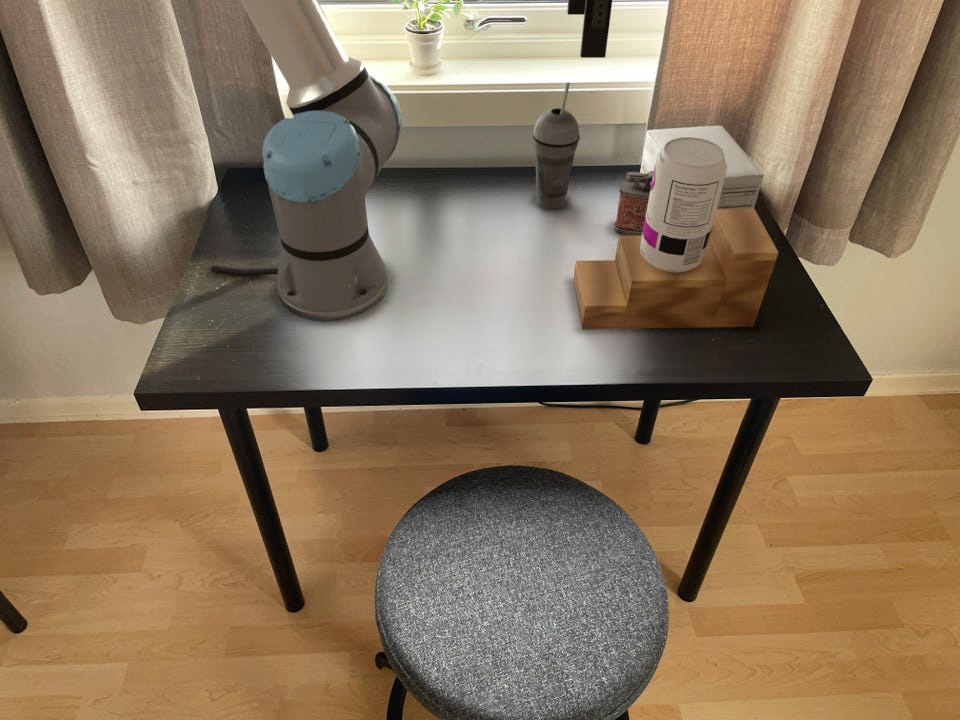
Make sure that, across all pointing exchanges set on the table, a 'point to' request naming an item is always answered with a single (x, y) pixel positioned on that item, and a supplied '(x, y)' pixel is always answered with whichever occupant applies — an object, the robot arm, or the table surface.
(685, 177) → the supplement can
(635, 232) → the lighter
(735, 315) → the step shelf
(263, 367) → the table surface
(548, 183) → the beverage cup
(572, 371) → the table surface
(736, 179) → the supplement box
